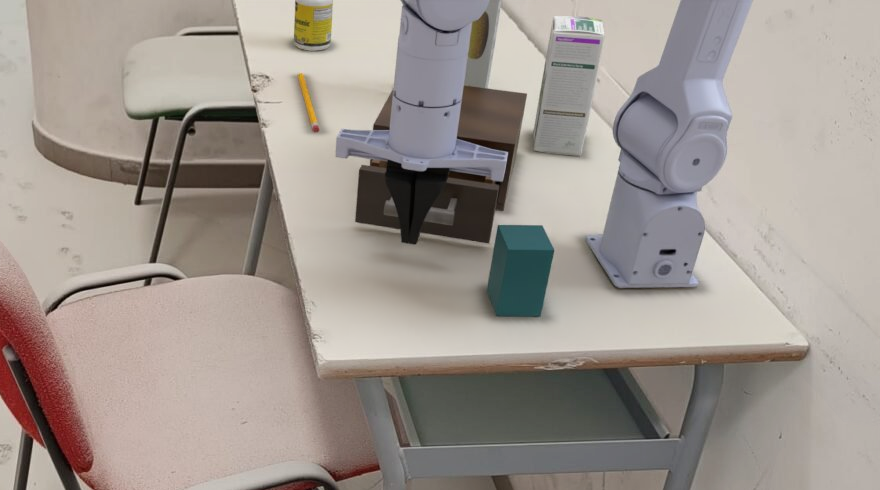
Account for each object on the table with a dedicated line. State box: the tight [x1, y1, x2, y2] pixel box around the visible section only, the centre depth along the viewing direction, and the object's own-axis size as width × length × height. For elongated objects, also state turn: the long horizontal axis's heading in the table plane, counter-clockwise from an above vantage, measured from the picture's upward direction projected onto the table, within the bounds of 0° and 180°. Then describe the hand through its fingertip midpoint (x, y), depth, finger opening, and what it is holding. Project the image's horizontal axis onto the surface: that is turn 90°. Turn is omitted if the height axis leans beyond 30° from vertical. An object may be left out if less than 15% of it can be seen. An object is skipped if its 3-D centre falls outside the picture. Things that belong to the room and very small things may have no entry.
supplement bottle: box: [293, 0, 334, 52], centre depth 144 cm, size 5×5×10 cm
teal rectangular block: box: [486, 224, 555, 317], centre depth 89 cm, size 4×4×7 cm
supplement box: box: [464, 0, 503, 89], centre depth 126 cm, size 10×9×17 cm
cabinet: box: [369, 86, 528, 212], centre depth 111 cm, size 15×15×8 cm
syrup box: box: [532, 15, 606, 157], centre depth 116 cm, size 6×6×14 cm
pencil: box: [297, 72, 320, 133], centre depth 129 cm, size 1×18×1 cm, turn 5°
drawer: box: [354, 147, 502, 245], centre depth 102 cm, size 18×13×6 cm
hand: (410, 238), depth 91 cm, fingers closed
